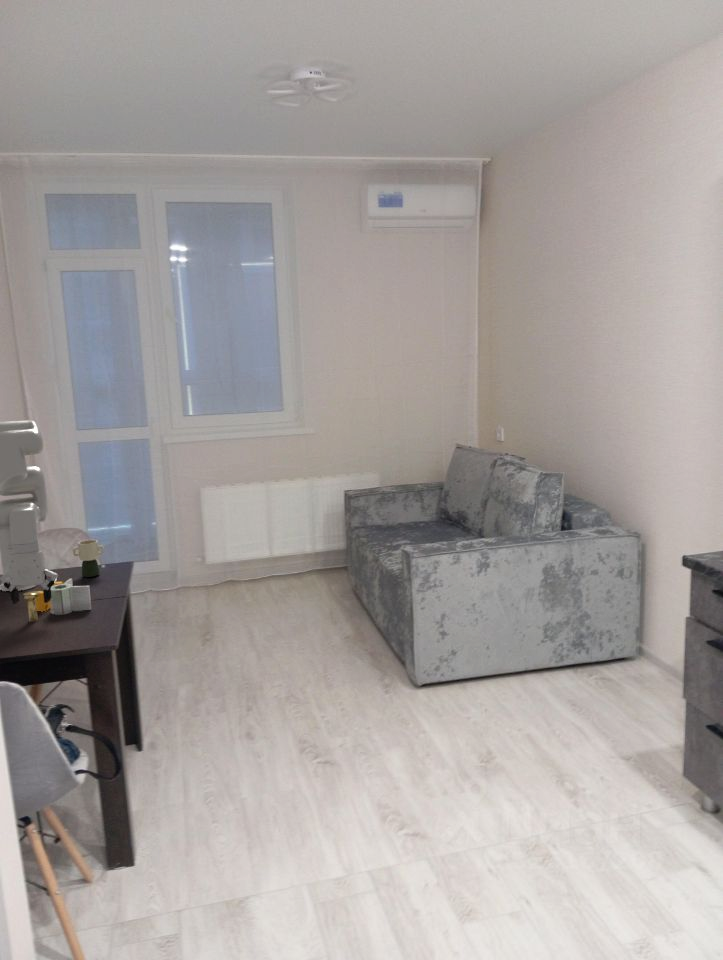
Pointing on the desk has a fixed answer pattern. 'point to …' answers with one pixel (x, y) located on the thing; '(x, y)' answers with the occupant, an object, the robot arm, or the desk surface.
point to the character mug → (89, 556)
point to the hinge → (69, 598)
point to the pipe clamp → (40, 601)
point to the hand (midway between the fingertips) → (31, 602)
